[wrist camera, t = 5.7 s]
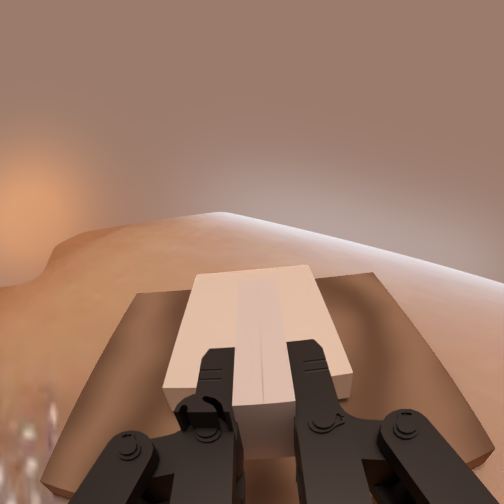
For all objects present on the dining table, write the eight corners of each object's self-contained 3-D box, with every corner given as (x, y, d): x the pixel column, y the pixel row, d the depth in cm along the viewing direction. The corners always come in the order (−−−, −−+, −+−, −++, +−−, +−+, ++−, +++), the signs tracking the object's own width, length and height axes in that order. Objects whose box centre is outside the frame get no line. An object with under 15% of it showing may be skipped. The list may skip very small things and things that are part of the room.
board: (53, 493, 11) (40, 481, 10) (140, 305, 31) (137, 293, 31) (484, 462, 10) (495, 448, 10) (371, 285, 31) (372, 272, 30)
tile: (162, 387, 15) (196, 274, 28) (173, 414, 16) (200, 297, 29) (353, 372, 15) (308, 264, 28) (348, 401, 16) (308, 287, 29)
